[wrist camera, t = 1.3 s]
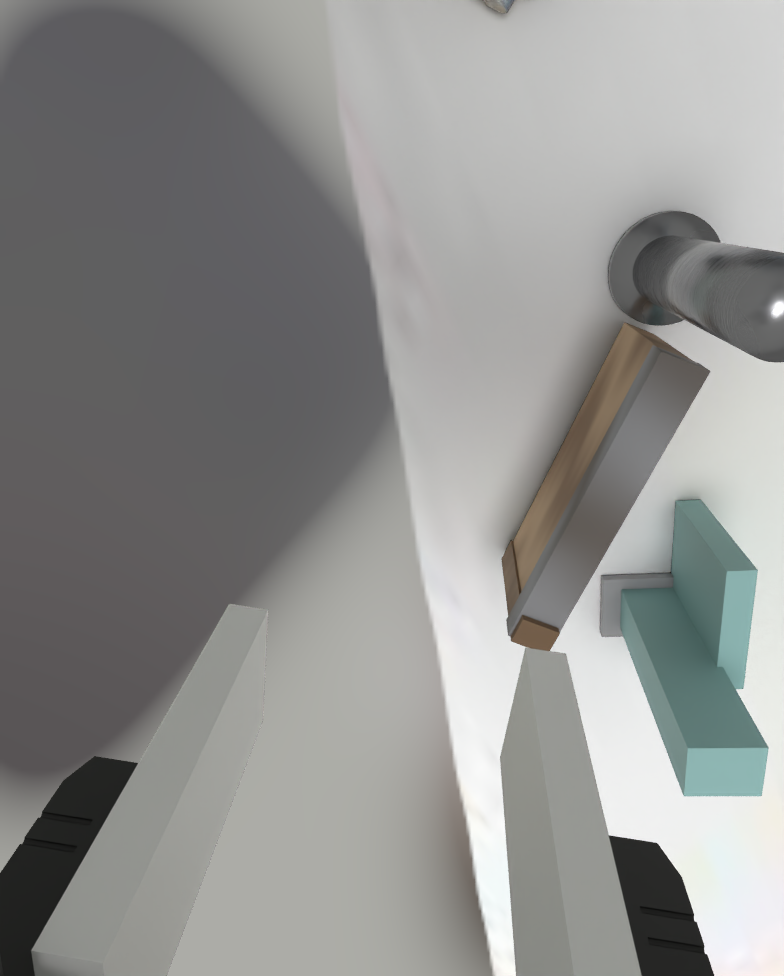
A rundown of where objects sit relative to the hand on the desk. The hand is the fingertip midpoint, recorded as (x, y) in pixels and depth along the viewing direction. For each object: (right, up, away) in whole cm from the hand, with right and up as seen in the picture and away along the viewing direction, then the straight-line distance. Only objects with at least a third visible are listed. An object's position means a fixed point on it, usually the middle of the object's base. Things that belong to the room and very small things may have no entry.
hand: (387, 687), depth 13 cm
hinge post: (+10, +12, +12) cm, 20 cm away
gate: (+7, +5, +15) cm, 17 cm away
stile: (+11, 0, +17) cm, 21 cm away
